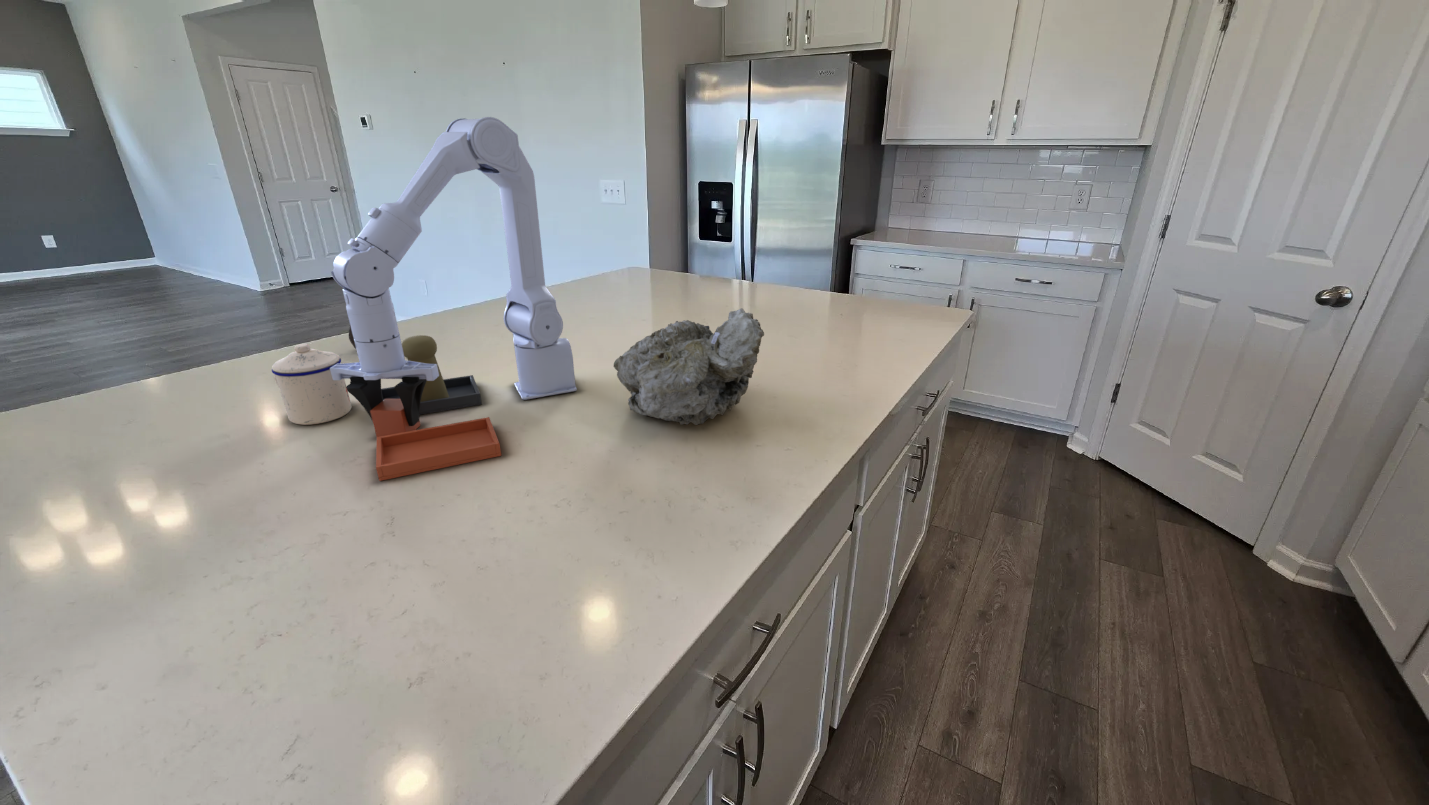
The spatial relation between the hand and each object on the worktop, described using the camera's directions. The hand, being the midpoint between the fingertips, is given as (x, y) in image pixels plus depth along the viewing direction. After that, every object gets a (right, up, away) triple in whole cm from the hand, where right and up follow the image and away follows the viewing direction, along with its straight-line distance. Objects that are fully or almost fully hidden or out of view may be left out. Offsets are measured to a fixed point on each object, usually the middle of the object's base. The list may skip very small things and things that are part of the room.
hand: (397, 423), depth 88 cm
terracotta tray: (+9, -4, -5) cm, 11 cm away
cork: (0, +3, +11) cm, 11 cm away
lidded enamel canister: (-17, +1, +6) cm, 18 cm away
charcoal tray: (0, +3, +11) cm, 11 cm away
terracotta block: (0, -1, +1) cm, 1 cm away
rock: (+44, +2, +9) cm, 45 cm away
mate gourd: (-25, +14, +36) cm, 46 cm away
